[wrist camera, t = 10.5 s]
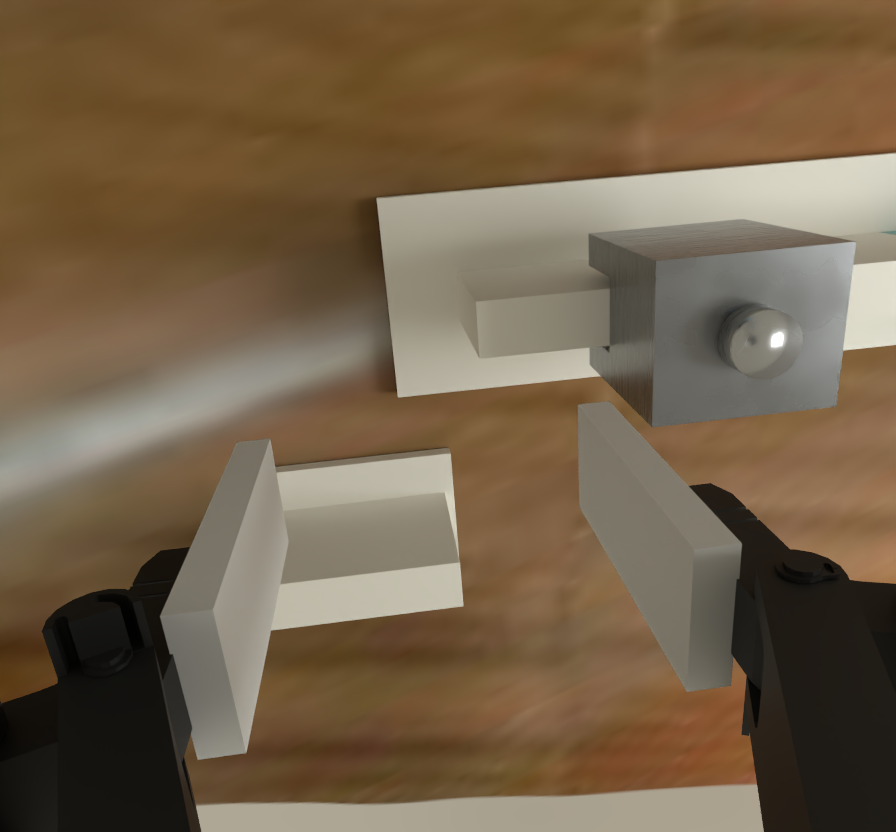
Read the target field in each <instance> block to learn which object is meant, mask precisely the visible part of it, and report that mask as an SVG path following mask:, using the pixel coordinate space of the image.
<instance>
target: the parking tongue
mask: <svg viewBox="0 0 896 832" xmlns="http://www.w3.org/2000/svg"><path fill="white" fill-rule="evenodd" d="M275 468H276V474H277V479H278V485H279V490H280V496H281V502H282V507H283V513H284V518H285V524H286V529H287V535H288V540H289V543H288V548H287V553H286V558H285V563H284V568H283V573H282V578H281V582H280V587H279V592H278V597H277V602H276V607H275V612H274V617H273V622H272V627H271V630H278V629H286V628H294V627H302V626H310V625H318V624H326V623H334V622H342V621H350V620H357V619H365V618H373V617H381V616H389V615H397V614H405V613H413V612H421V611H429V610H437V609H444V608H452V607H460V606H463V595H462V582H461V570H460V561H459V551H458V539H457V527H456V515H455V502H454V490H453V478H452V466H451V454H450V450H449V448H441V449H432V450H423V451H414V452H405V453H396V454H387V455H378V456H369V457H360V458H351V459H342V460H333V461H324V462H315V463H306V464H297V465H288V466H279V467H275Z"/></svg>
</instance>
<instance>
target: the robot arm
mask: <svg viewBox="0 0 896 832" xmlns="http://www.w3.org/2000/svg"><path fill="white" fill-rule="evenodd" d="M578 443H579V507H580V509H581V510H582V512H583V514H584V516H585V517H586V519H587V521H588V522H589V524H590V526H591V528H592V529H593V531H594V533H595V535H596V536H597V538H598V540H599V541H600V543H601V545H602V547H603V548H604V550H605V552H606V553H607V555H608V557H609V559H610V560H611V562H612V564H613V566H614V567H615V569H616V571H617V572H618V574H619V576H620V578H621V579H622V581H623V583H624V585H625V586H626V588H627V590H628V591H629V593H630V595H631V597H632V598H633V600H634V602H635V603H636V605H637V607H638V609H639V610H640V612H641V614H642V616H643V617H644V619H645V621H646V622H647V624H648V626H649V628H650V629H651V631H652V633H653V635H654V636H655V638H656V640H657V641H658V643H659V645H660V647H661V648H662V650H663V652H664V653H665V655H666V657H667V659H668V660H669V662H670V664H671V666H672V667H673V669H674V671H675V672H676V674H677V676H678V678H679V679H680V681H681V683H682V685H683V686H684V688H685V690H686V691H687V692H689V691H696V690H704V689H711V688H718V687H725V686H731V678H732V665H733V657H734V658H735V659H736V661H737V662H738V664H739V665H740V666H741V668H742V669H743V671H744V672H745V674H746V675H747V679H746V690H745V702H744V713H743V725H742V735H747V736H749V733H750V738H751V745H752V751H753V758H754V765H755V772H756V779H757V786H758V793H759V800H760V807H761V814H762V821H763V828H764V832H896V584H889V583H875V582H861V581H853V580H849V578H848V575H847V574H846V573H845V571H844V570H843V569H842V567H841V566H840V565H838V564H836V563H835V562H833V561H832V560H830V559H828V558H826V557H823V556H821V555H818V554H815V553H812V552H806V551H800V550H790V549H789V548H788V547H787V546H786V545H785V544H784V543H783V542H782V541H781V540H780V539H779V538H778V537H777V536H776V535H775V534H773V533H772V532H771V531H770V530H769V529H768V528H767V527H766V526H765V525H764V524H763V523H762V522H761V521H760V520H758V521H757V517H756V516H755V515H754V514H753V513H752V512H751V511H750V510H749V509H748V510H746V507H745V506H744V505H743V504H742V503H741V502H740V501H739V500H738V499H737V498H736V497H735V496H734V495H733V494H732V493H730V492H728V491H725V490H723V489H721V488H719V487H717V486H715V485H713V484H711V483H709V484H701V485H692V486H688V485H687V484H686V483H685V482H684V481H683V480H682V479H681V478H680V477H679V475H678V474H677V473H676V472H675V471H674V470H673V469H672V468H671V467H670V466H669V465H668V464H667V463H666V462H665V460H664V459H663V458H662V457H661V456H660V455H659V454H658V453H657V452H656V451H655V450H654V449H653V448H652V447H651V445H650V444H649V443H648V442H647V441H646V440H645V439H644V438H643V437H642V436H641V435H640V434H639V433H638V432H637V430H636V429H635V428H634V427H633V426H632V425H631V424H630V423H629V422H628V421H627V420H626V419H625V418H624V417H623V415H622V414H621V413H620V412H619V411H618V410H617V409H616V408H615V407H614V406H613V405H612V404H611V403H610V402H609V401H607V402H598V403H589V404H580V405H578ZM288 543H289V540H288V535H287V529H286V524H285V518H284V513H283V507H282V502H281V496H280V490H279V485H278V479H277V474H276V468H275V463H274V457H273V452H272V446H271V440H270V439H261V440H252V441H243V442H237V443H236V445H235V447H234V450H233V452H232V454H231V456H230V459H229V461H228V463H227V466H226V468H225V470H224V472H223V475H222V477H221V479H220V481H219V484H218V486H217V488H216V490H215V493H214V495H213V497H212V500H211V502H210V504H209V506H208V509H207V511H206V513H205V515H204V518H203V520H202V522H201V524H200V527H199V529H198V531H197V533H196V536H195V538H194V540H193V543H192V545H191V547H187V548H179V549H171V550H162V551H160V552H158V553H157V554H156V555H155V556H154V557H152V558H151V559H150V560H149V561H148V562H147V563H145V564H144V565H143V566H142V567H141V569H140V571H139V573H138V574H137V576H136V578H135V580H134V582H133V587H130V589H129V590H126V589H107V590H102V591H97V592H92V593H89V594H87V595H84V596H82V597H79V598H76V599H74V600H72V601H70V602H69V603H67V604H65V605H64V606H62V607H61V608H59V609H57V610H56V611H55V612H54V613H53V614H52V615H51V616H50V617H49V618H48V619H47V620H46V622H45V625H44V627H43V630H42V633H43V636H44V639H45V642H46V645H47V648H48V650H49V653H50V656H51V659H52V662H53V665H54V668H55V671H56V674H57V677H58V683H57V684H55V685H53V686H51V687H48V688H46V689H43V690H41V691H38V692H35V693H32V694H29V695H26V696H23V697H20V698H17V699H14V700H11V701H8V702H5V703H2V704H1V702H0V832H201V828H200V824H199V819H198V814H197V810H196V805H195V800H194V796H193V791H192V786H191V782H190V777H189V773H188V770H187V766H186V762H185V759H184V754H185V751H186V748H187V744H188V741H189V738H190V734H191V736H192V740H193V743H194V747H195V751H196V755H197V758H198V760H199V759H206V758H214V757H221V756H228V755H235V754H242V753H246V752H247V747H248V742H249V737H250V732H251V727H252V722H253V717H254V712H255V707H256V702H257V697H258V692H259V687H260V682H261V677H262V672H263V667H264V662H265V657H266V652H267V647H268V642H269V637H270V632H271V627H272V622H273V617H274V612H275V607H276V602H277V597H278V592H279V587H280V582H281V578H282V573H283V568H284V563H285V558H286V553H287V548H288Z"/></svg>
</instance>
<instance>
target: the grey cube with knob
mask: <svg viewBox="0 0 896 832" xmlns="http://www.w3.org/2000/svg"><path fill="white" fill-rule="evenodd" d="M588 234H589V266H590V267H592V268H594V269H596V270H597V271H599V272H601V273H603V274H605V275H606V276H608V277H610V346H600V347H591V348H589V350H590V366H591V367H592V368H593V369H594V370H595V371H596V372H597V373H598V374H599V375H600V376H601V377H602V378H603V379H604V380H605V381H606V382H607V383H608V384H609V385H610V386H611V387H612V388H613V389H614V390H615V391H616V392H617V393H618V394H619V395H620V396H621V397H622V398H623V399H624V400H625V401H626V402H627V403H628V404H629V405H630V406H631V407H632V408H633V409H634V410H635V411H636V412H637V413H638V414H639V415H640V416H641V417H642V418H643V419H644V420H645V421H646V422H647V423H648V424H649V425H650V426H651V427H659V426H668V425H677V424H686V423H694V422H703V421H712V420H721V419H730V418H739V417H747V416H756V415H765V414H774V413H783V412H792V411H800V410H809V409H818V408H827V407H836V404H837V395H838V387H839V379H840V371H841V362H842V354H843V346H844V338H845V329H846V321H847V313H848V305H849V296H850V288H851V280H852V272H853V264H854V255H855V247H856V241H851V240H846V239H841V238H836V237H831V236H826V235H821V234H816V233H811V232H806V231H801V230H796V229H791V228H786V227H781V226H776V225H771V224H766V223H761V222H756V221H751V220H746V219H737V220H726V221H716V222H705V223H694V224H684V225H673V226H663V227H652V228H641V229H631V230H620V231H610V232H599V233H588Z"/></svg>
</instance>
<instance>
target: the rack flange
mask: <svg viewBox="0 0 896 832" xmlns="http://www.w3.org/2000/svg"><path fill="white" fill-rule="evenodd" d="M376 198H377V207H378V216H379V226H380V235H381V244H382V254H383V263H384V272H385V282H386V291H387V300H388V310H389V319H390V328H391V338H392V347H393V356H394V366H395V375H396V384H397V394H398V397H407V396H417V395H426V394H436V393H445V392H454V391H464V390H473V389H483V388H492V387H502V386H511V385H521V384H530V383H539V382H549V381H558V380H568V379H577V378H587V377H596V376H600V375H599V374H598V373H597V372H596V371H595V370H594V369H593V368H592V367H591V366H590V350H589V348H591V347H600V346H610V277H608V276H606V275H605V274H603V273H601V272H599V271H597V270H596V269H594V268H592V267H590V266H589V234H588V233H599V232H610V231H620V230H631V229H641V228H652V227H663V226H673V225H684V224H694V223H705V222H716V221H726V220H737V219H746V220H751V221H756V222H761V223H766V224H771V225H776V226H781V227H786V228H791V229H796V230H801V231H806V232H811V233H816V234H821V235H826V236H831V237H836V238H841V239H846V240H851V241H856V247H855V255H854V264H853V272H852V280H851V288H850V296H849V305H848V313H847V321H846V329H845V338H844V346H843V350H851V349H861V348H870V347H880V346H889V345H896V152H894V153H882V154H871V155H859V156H848V157H836V158H825V159H813V160H802V161H790V162H779V163H767V164H756V165H744V166H733V167H721V168H710V169H698V170H687V171H675V172H664V173H652V174H641V175H629V176H618V177H606V178H595V179H583V180H572V181H560V182H548V183H537V184H525V185H514V186H502V187H491V188H479V189H468V190H456V191H445V192H433V193H422V194H410V195H399V196H387V197H376Z"/></svg>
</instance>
